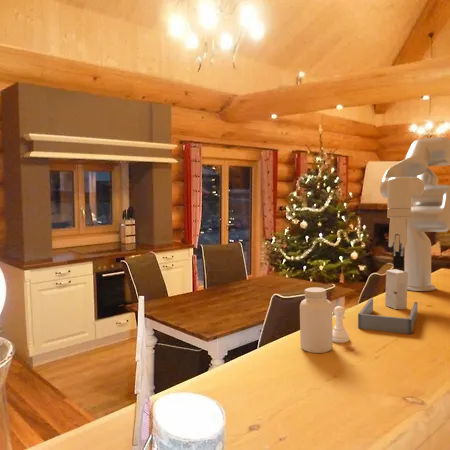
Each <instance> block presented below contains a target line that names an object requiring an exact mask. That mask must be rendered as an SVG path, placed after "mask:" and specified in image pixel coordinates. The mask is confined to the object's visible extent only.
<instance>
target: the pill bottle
mask: <svg viewBox="0 0 450 450" xmlns="http://www.w3.org/2000/svg"><path fill="white" fill-rule="evenodd" d="M327 298H328V297H327V289H325V288H324V287H318V286H317V287H315V286H314V287H308V288H305V289H304V299H302V300H301V302H300V304H299V325H300V326H299V328H300V329H299V331H300V333H299V335H300V336H299V337H300V338H299V339H300V348H301V349H302V350H304V351H305V352H309V353H314V354H321V353H322V354H323V353H327V352H330V351H331V350H332V349H333V344H334V343H333V336H332V331H333V304H332V303H331V301H330V300H329V299H327Z"/></svg>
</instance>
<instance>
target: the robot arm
mask: <svg viewBox="0 0 450 450" xmlns="http://www.w3.org/2000/svg"><path fill="white" fill-rule="evenodd" d="M441 166H442V167H445V166H447V167H448V166H450V138H447V137H444V136H436V137H427V138H425V137H424V138H418V139H416V140H414V141H413V142H412V143H411V145H410V147H409V148H408V151H407V153H406V155H405V157H404V159H402V160H401V161H399V162H397V163H396V164H393V165H392V166H390V167H389V168H388V169H387V170H386V171H385V173H384V174H383V177H382V179H381V181H380V186H379V192H380V195H381V197H383V198H384V199H387V202H386V203H387V209H386V210H387V217H386V218H388V219H390V220H389V226H388V227H389V228H388V229H389V230H388V247H389V248H392V247H393V259H392V261H393V264H392V265H393V266H392V268H394V269H404V270H403V271H404V272H407V273H408V285H407V291H411V292H412V291H413V292H430V291H434V290H436V285H435V284H434V283H432V242H431V240H430V238H429V237H428V235H427V234H426V233H427V232H428V233H430V232H431V233H432V232H433V233H434V232H435V233H445V232H448V231H450V185H449V184H438V183H439V177H438V176H437V175H436V173H435V172H434V171H433V170H431V169H430V168H429V167H441ZM425 232H426V233H425Z"/></svg>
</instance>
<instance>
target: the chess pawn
mask: <svg viewBox="0 0 450 450" xmlns="http://www.w3.org/2000/svg"><path fill="white" fill-rule="evenodd" d="M333 313H334V316H333V319H335V320H336V321H335V325H334V327H333V329H332V336H333V342H334V343H338V344H339V343H340V344H342V343H348V342H349V341H350V333H349V332H348V331H347V330H346V327H345V326H344V323H343V320H346V317H345V314H346V310H345V308H344V307H343V306H340V305H338V306H335V307H334V308H333Z"/></svg>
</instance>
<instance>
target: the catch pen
mask: <svg viewBox="0 0 450 450" xmlns="http://www.w3.org/2000/svg"><path fill="white" fill-rule="evenodd" d="M412 305H413V306H412V308H411V311H410V313H409V316H408V318H407V317H396V316H395V317H394V316H388V315H387V316H386V315H376V314H375V315H374V314H372V313H373V312H374V298H372V297H370V298H369V299H368V301H367V302H366V304H365V305H364V306H363V307H362V309H361V310H360V311H359V312H358V314H357V328H358V329H361V330H363V329H364V330H372V331H380V332H390V333H396V334H397V333H398V334H405V335H406V334H407V335H412V333H413V330H414V327H415V324H416V320H417V318H418V306H419V305H418V301H414V303H413V304H412ZM372 311H373V312H372ZM370 314H371V315H370Z"/></svg>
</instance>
